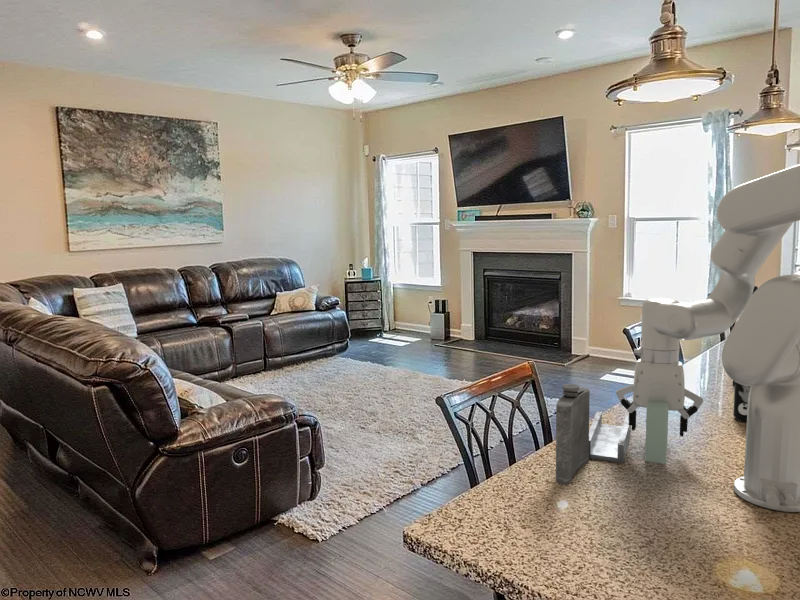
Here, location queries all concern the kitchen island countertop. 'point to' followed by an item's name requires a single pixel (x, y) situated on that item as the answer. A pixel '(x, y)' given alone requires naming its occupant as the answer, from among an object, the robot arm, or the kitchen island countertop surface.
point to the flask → (572, 432)
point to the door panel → (656, 432)
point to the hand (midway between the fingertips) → (657, 431)
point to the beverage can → (741, 402)
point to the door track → (608, 440)
